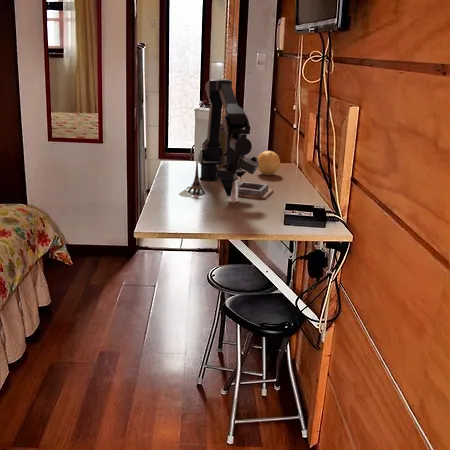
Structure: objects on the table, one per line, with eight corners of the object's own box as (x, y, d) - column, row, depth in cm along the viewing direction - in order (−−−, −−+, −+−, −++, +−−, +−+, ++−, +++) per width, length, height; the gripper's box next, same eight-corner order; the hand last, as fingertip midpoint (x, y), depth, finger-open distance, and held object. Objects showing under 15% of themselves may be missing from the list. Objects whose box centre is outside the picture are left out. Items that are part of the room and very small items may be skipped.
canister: (201, 169, 239) (202, 122, 233) (215, 165, 248) (216, 120, 241) (223, 173, 234) (225, 125, 227) (236, 169, 242) (238, 122, 236)
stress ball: (261, 173, 241) (247, 160, 235) (276, 156, 240) (263, 142, 234) (272, 182, 233) (259, 169, 227) (288, 164, 233) (275, 151, 226)
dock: (227, 194, 204) (227, 187, 203) (237, 187, 214) (237, 180, 214) (264, 199, 199) (265, 192, 199) (273, 191, 210) (273, 184, 209)
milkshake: (223, 199, 198) (224, 171, 195) (238, 199, 199) (240, 171, 195) (224, 202, 194) (225, 174, 191) (240, 202, 194) (241, 174, 191)
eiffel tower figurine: (188, 187, 213) (189, 152, 209) (214, 190, 210) (215, 155, 206) (175, 197, 199) (175, 160, 195) (202, 201, 197) (203, 163, 192)
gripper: (248, 156, 180) (246, 203, 185) (264, 147, 196) (261, 190, 201) (216, 153, 183) (214, 199, 188) (233, 144, 200) (232, 186, 205)
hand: (232, 193), depth 195 cm, fingers open, 6 cm apart
